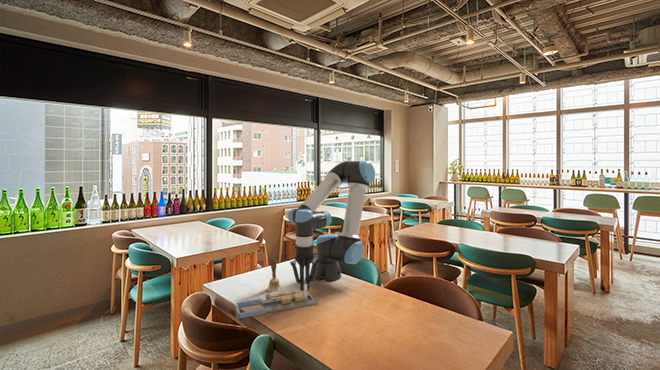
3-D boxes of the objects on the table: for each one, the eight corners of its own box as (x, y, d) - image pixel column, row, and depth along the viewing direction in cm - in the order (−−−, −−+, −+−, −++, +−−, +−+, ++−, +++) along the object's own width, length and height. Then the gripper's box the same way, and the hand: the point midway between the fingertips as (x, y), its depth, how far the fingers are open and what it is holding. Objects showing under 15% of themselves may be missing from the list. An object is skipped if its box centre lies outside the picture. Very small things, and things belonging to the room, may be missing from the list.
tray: (261, 304, 136) (260, 298, 136) (265, 315, 126) (265, 309, 126) (235, 309, 132) (235, 302, 132) (238, 320, 122) (238, 314, 122)
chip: (289, 301, 138) (289, 294, 137) (291, 305, 134) (291, 298, 134) (280, 302, 136) (280, 296, 136) (282, 306, 132) (282, 299, 132)
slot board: (309, 296, 145) (309, 292, 145) (317, 306, 135) (317, 302, 134) (261, 304, 137) (261, 300, 136) (266, 315, 126) (266, 311, 126)
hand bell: (274, 295, 146) (273, 262, 145) (262, 291, 151) (261, 259, 150) (286, 290, 153) (286, 258, 151) (274, 286, 158) (274, 255, 156)
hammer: (294, 293, 149) (294, 290, 149) (296, 297, 144) (296, 294, 144) (266, 297, 144) (266, 294, 144) (267, 302, 139) (267, 298, 139)
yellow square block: (301, 299, 140) (301, 292, 140) (304, 302, 136) (304, 295, 136) (293, 300, 138) (293, 293, 138) (295, 304, 135) (295, 297, 134)
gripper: (315, 241, 142) (315, 291, 144) (287, 244, 138) (288, 296, 139) (321, 245, 136) (321, 298, 137) (292, 248, 131) (292, 303, 132)
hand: (304, 297), depth 138 cm, fingers closed
